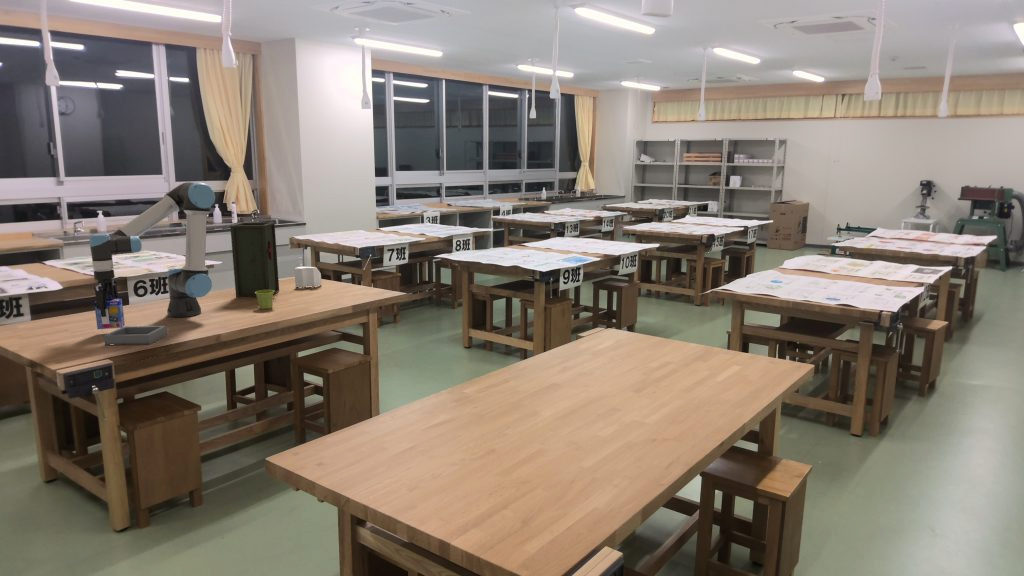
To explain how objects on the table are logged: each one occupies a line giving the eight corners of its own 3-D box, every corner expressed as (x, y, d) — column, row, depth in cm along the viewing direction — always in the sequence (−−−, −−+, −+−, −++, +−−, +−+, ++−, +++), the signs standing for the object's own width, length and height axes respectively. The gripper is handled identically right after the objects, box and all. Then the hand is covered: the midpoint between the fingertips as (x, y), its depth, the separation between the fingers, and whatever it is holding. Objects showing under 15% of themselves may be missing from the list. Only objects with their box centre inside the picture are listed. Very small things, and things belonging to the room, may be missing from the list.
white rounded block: (295, 288, 400) (294, 268, 398) (306, 284, 410) (304, 265, 408) (311, 288, 397) (310, 268, 395) (321, 285, 408) (320, 266, 405)
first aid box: (247, 291, 390) (241, 222, 382) (279, 290, 391) (274, 222, 383) (236, 297, 371) (230, 225, 364) (269, 297, 372) (264, 225, 365)
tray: (125, 335, 290) (124, 326, 290) (167, 334, 291) (166, 325, 290) (104, 345, 275) (103, 335, 274) (149, 344, 275) (148, 335, 275)
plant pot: (265, 310, 338) (264, 293, 337) (252, 308, 342) (250, 292, 341) (279, 307, 346) (278, 290, 345) (266, 305, 351) (265, 289, 349)
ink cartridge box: (96, 329, 289) (92, 297, 287) (99, 327, 294) (95, 294, 292) (122, 327, 292) (118, 295, 290) (125, 325, 298) (121, 293, 295)
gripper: (106, 266, 298) (113, 316, 302) (81, 273, 279) (88, 327, 283) (124, 266, 298) (130, 316, 303) (100, 273, 279) (107, 327, 284)
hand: (110, 321), depth 293 cm, fingers closed on ink cartridge box, 6 cm apart
